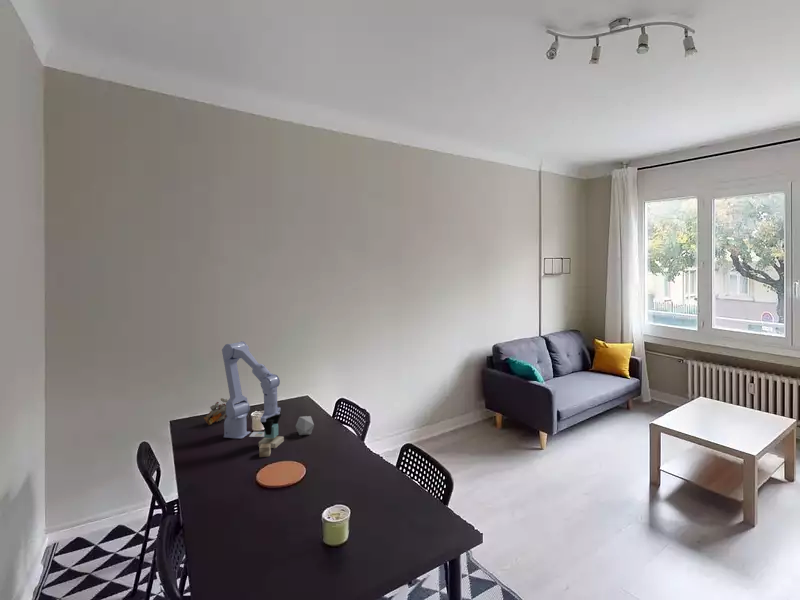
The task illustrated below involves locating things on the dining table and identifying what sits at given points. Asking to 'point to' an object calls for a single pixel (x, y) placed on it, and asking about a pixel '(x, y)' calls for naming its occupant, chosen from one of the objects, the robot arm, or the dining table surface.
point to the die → (305, 425)
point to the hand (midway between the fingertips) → (271, 432)
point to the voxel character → (216, 412)
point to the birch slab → (272, 441)
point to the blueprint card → (257, 434)
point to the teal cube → (273, 432)
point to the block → (265, 450)
